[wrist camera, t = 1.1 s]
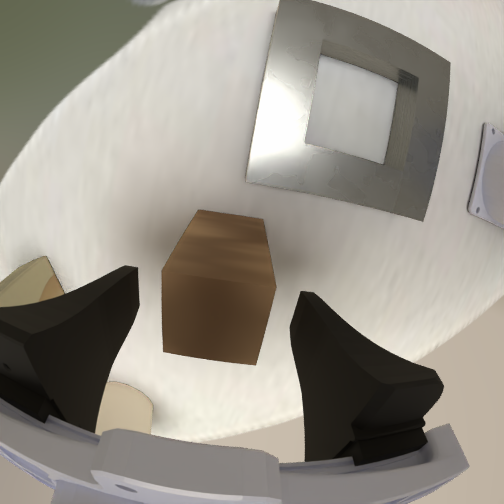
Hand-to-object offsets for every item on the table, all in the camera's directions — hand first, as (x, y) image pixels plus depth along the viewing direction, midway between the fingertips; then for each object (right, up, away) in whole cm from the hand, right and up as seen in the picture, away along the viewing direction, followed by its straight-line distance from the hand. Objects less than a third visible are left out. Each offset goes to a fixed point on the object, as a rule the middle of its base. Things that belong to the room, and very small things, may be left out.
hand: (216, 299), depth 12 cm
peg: (0, +3, +6) cm, 6 cm away
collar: (+8, +11, +2) cm, 13 cm away
